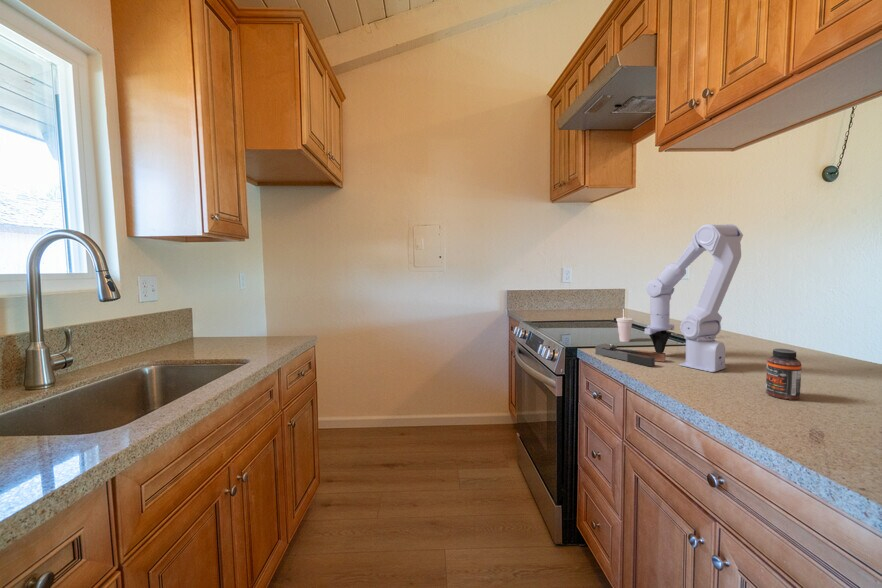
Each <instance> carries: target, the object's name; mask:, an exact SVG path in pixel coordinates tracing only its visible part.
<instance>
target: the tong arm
mask: <svg viewBox="0 0 882 588" xmlns="http://www.w3.org/2000/svg"><path fill="white" fill-rule="evenodd" d="M612 350H617V351H622V352H626V353H633V354H637V355H642V356H647V357H652V358H655V362H663V363H664V362H665V361H666V352H663V353H659V352H656V351H649V350H642V349H641V350H638V349H629V348H628V349H627V348H620V347H618V348H614V349H612Z"/></svg>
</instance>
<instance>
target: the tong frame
mask: <svg viewBox="0 0 882 588" xmlns="http://www.w3.org/2000/svg"><path fill="white" fill-rule="evenodd" d="M614 348H619V347H618V345H616V344H615V343H609V344H608V343H603V344H598V345H595V348H594V349H595V351H594V352H595V355H598V356H603V357H609V358H614V359H618V360H620V361H625V362H629V363H634V364H636V365H637V364H638V365H642V366H646V367H650V368H652V367H655V366H656V361H655V358H652V357H647V356H642V355H637V354H633V353H626V352H622V351H617V350H612V349H614Z"/></svg>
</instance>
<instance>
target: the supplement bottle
mask: <svg viewBox="0 0 882 588" xmlns="http://www.w3.org/2000/svg"><path fill="white" fill-rule="evenodd" d="M802 366H803V365H802V361H800V360H799V359H797V351H796V350H794V349H788V348H773V349H772V356H770V357H769V358H767V361H766V379H765V381H766V382H765V393H766V394H767V395H769V396H770V397H773V398H777V399H780V398H781V399H780V400H786V399H789V400H788V401H793V400H798V399H800V397H801V387H802V385H801V382H802Z"/></svg>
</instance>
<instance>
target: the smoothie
mask: <svg viewBox="0 0 882 588" xmlns="http://www.w3.org/2000/svg"><path fill="white" fill-rule="evenodd" d="M615 320H616V322H617V323H616V324H617V331H618V337H619V342H622V343H629V342H630V341H631V334H632V333H631V332H632V326H633V322H634V319H633V318H632V317H625V308H622V317H617V318H615Z"/></svg>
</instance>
